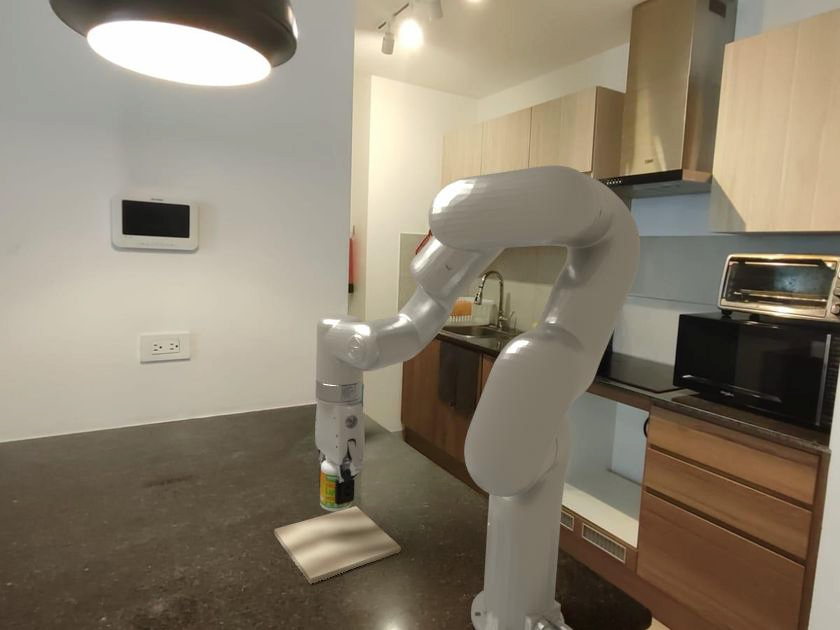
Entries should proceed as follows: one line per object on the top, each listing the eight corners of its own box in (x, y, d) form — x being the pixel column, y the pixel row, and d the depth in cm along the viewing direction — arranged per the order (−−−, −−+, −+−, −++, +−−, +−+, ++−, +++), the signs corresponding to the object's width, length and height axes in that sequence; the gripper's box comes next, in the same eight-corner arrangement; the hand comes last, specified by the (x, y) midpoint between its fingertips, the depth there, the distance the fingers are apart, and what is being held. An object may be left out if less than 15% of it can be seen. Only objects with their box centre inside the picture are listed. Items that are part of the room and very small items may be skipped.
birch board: (400, 552, 86) (400, 547, 86) (310, 584, 77) (310, 578, 77) (356, 511, 99) (356, 506, 99) (274, 534, 90) (274, 529, 90)
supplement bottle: (321, 513, 84) (322, 457, 83) (318, 498, 89) (319, 444, 88) (354, 510, 86) (355, 454, 84) (349, 495, 91) (351, 442, 90)
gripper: (385, 401, 80) (381, 511, 82) (337, 375, 94) (334, 470, 96) (341, 408, 76) (338, 523, 78) (297, 380, 90) (296, 479, 92)
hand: (336, 493), depth 87 cm, fingers closed on supplement bottle, 5 cm apart
